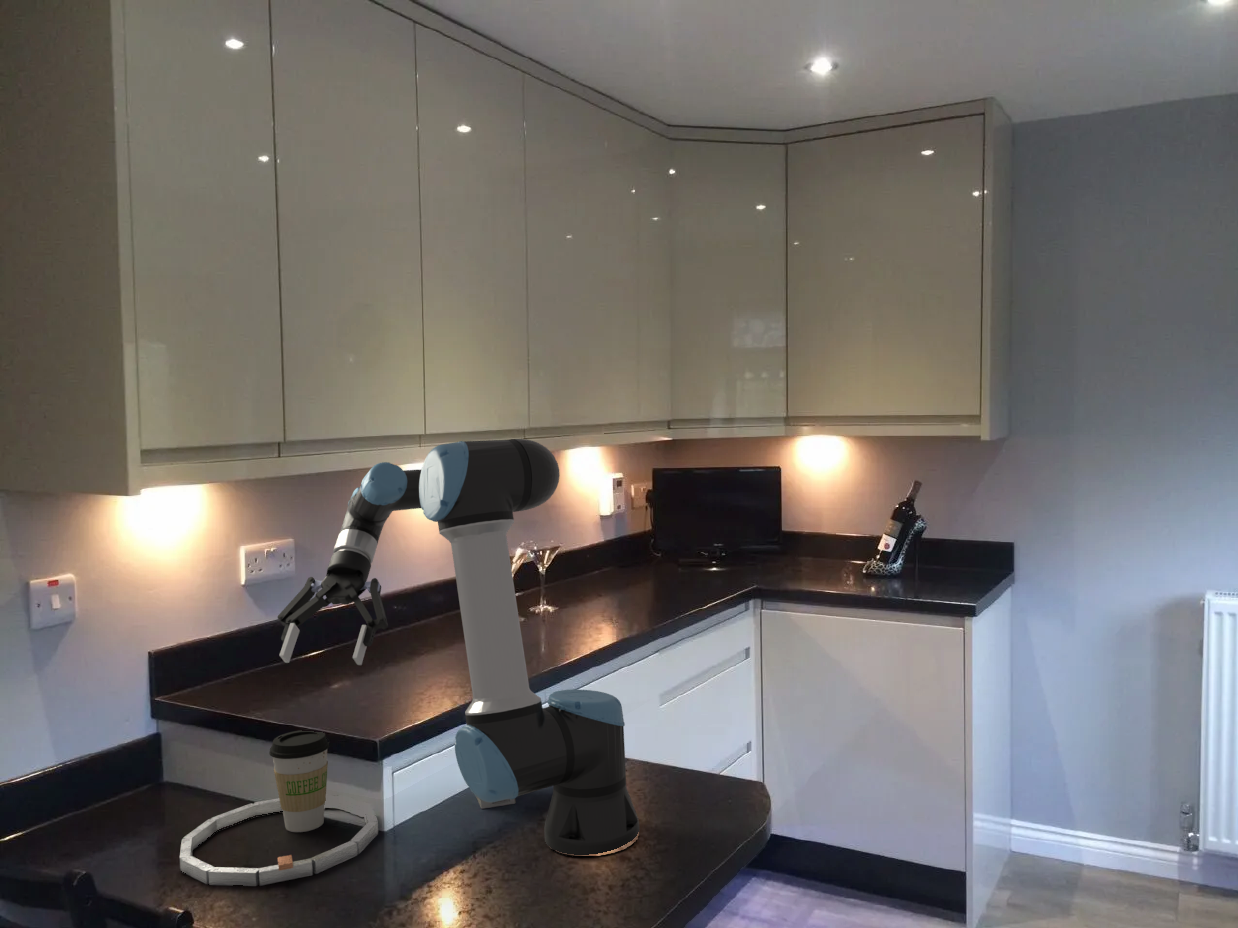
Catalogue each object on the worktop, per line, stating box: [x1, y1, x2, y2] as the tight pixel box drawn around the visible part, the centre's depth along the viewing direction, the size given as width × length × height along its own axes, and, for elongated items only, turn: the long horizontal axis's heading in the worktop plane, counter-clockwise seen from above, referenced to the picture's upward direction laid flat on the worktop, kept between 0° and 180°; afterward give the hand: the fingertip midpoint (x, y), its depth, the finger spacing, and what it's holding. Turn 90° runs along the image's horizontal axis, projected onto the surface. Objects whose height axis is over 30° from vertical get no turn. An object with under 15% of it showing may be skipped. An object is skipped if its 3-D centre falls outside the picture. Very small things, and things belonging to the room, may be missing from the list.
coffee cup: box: [269, 729, 331, 833], centre depth 169 cm, size 10×10×15 cm
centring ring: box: [179, 797, 379, 887], centre depth 163 cm, size 31×30×3 cm
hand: (320, 660), depth 176 cm, fingers open, 13 cm apart
